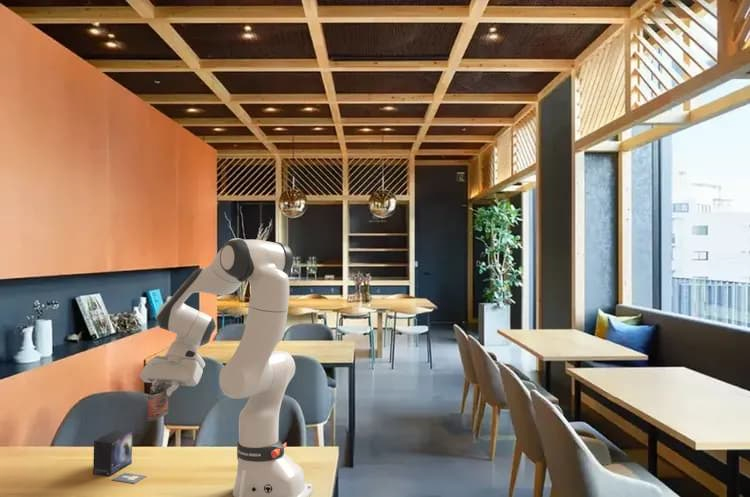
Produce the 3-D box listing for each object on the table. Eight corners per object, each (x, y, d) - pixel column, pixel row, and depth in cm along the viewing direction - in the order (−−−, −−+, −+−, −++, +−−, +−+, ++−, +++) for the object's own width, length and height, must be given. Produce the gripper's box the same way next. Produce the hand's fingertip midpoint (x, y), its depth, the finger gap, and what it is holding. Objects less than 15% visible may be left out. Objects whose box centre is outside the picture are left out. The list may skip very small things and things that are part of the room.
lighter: (154, 420, 163) (153, 388, 163) (144, 419, 164) (143, 387, 164) (171, 411, 171) (170, 380, 171) (162, 410, 172) (161, 379, 171)
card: (146, 476, 162) (146, 475, 162) (134, 483, 158) (134, 482, 158) (124, 473, 165) (124, 472, 165) (112, 480, 160) (112, 479, 160)
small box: (110, 476, 162) (111, 442, 162) (91, 475, 164) (92, 440, 164) (133, 463, 173) (133, 430, 173) (115, 461, 174) (115, 429, 174)
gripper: (148, 350, 178) (127, 386, 169) (202, 353, 173) (183, 391, 163) (157, 361, 183) (136, 397, 173) (210, 364, 177) (192, 402, 168)
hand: (159, 394), depth 168 cm, fingers closed on lighter, 3 cm apart
